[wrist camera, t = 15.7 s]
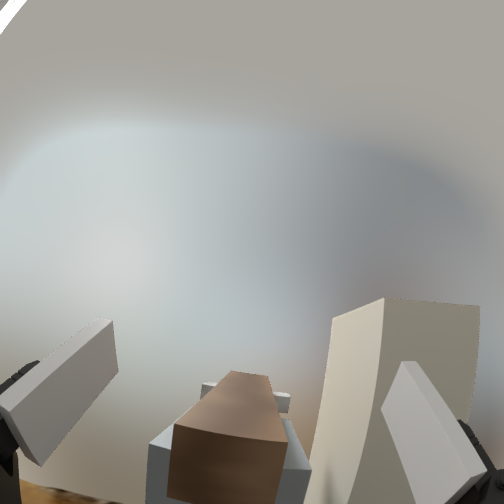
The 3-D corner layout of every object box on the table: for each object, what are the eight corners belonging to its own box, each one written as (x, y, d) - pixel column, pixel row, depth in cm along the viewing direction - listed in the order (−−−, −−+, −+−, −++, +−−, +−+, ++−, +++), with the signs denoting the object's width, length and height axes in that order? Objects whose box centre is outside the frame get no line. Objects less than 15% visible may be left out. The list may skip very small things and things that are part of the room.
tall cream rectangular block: (306, 594, 9) (384, 297, 19) (291, 525, 24) (332, 318, 33) (399, 577, 9) (479, 305, 18) (360, 521, 23) (404, 324, 32)
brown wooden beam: (108, 476, 7) (111, 403, 9) (204, 396, 28) (208, 366, 29) (335, 515, 7) (356, 443, 8) (285, 408, 28) (290, 378, 29)
